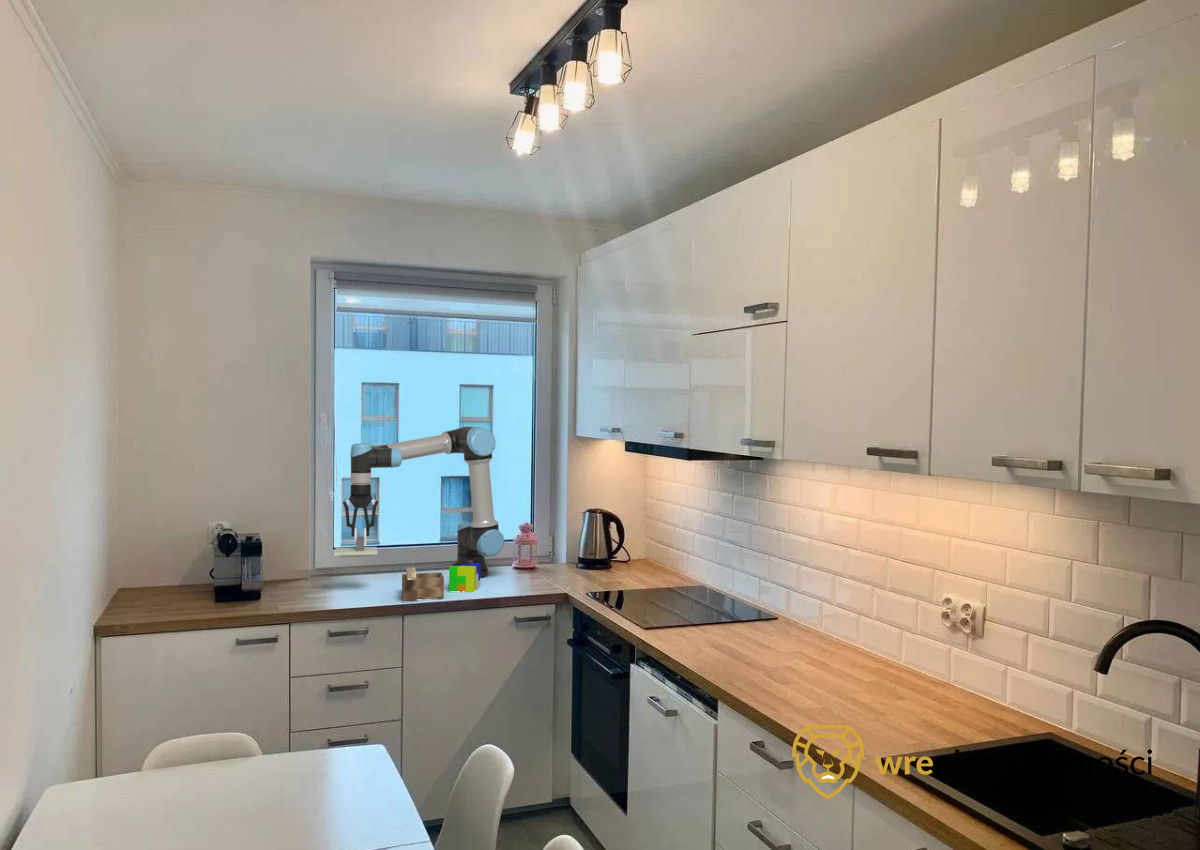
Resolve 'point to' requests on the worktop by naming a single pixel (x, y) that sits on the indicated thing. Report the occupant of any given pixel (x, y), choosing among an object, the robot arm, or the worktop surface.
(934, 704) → the worktop surface
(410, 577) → the light wooden block
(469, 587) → the puzzle toy
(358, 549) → the lid
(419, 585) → the box
